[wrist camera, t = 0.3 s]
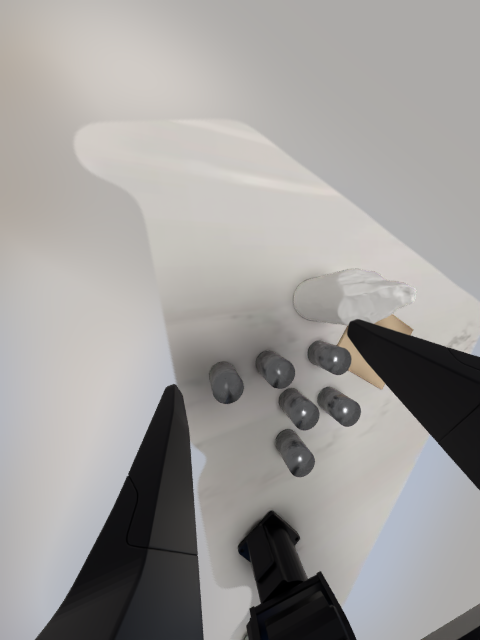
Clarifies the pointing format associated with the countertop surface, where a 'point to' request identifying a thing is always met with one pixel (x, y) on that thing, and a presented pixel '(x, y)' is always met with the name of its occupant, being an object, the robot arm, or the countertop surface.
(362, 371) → the mat
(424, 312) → the countertop surface
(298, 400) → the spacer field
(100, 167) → the countertop surface
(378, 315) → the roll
